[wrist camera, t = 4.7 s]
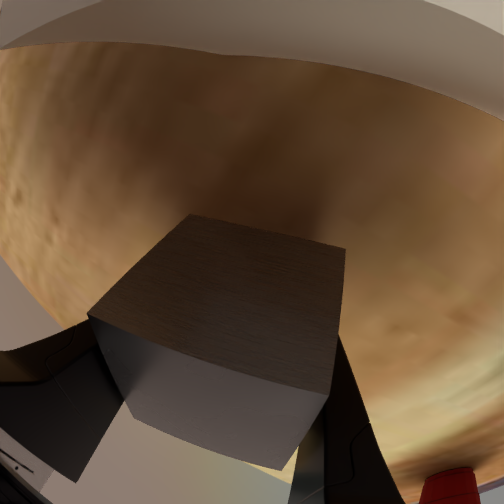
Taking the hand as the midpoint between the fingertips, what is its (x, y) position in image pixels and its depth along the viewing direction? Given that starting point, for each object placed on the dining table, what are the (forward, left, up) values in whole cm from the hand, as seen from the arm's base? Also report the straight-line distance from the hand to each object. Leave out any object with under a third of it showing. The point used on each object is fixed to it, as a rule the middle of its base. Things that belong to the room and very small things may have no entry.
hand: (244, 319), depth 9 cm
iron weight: (0, 0, -1) cm, 1 cm away
